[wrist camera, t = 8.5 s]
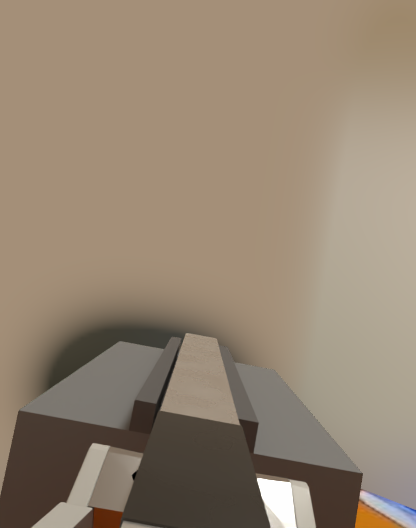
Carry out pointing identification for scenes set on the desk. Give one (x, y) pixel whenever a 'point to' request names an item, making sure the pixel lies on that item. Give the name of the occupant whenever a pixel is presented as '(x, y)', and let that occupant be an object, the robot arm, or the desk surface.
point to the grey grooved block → (141, 423)
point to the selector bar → (196, 453)
